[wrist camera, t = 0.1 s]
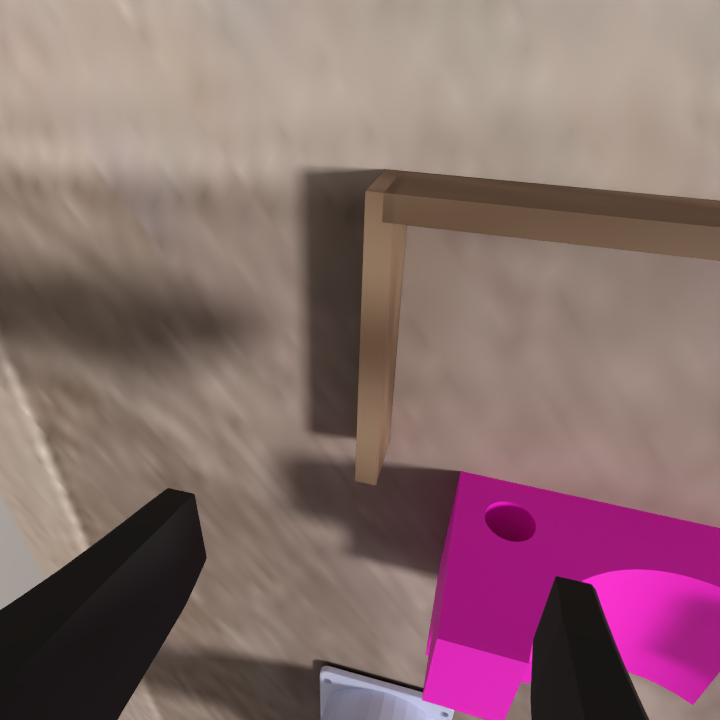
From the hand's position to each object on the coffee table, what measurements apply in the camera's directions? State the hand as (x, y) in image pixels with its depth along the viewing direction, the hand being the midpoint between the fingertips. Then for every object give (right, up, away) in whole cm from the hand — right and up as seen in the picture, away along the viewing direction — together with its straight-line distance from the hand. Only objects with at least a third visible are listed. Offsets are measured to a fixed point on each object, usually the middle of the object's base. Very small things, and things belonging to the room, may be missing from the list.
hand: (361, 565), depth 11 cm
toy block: (+11, -4, +12) cm, 17 cm away
